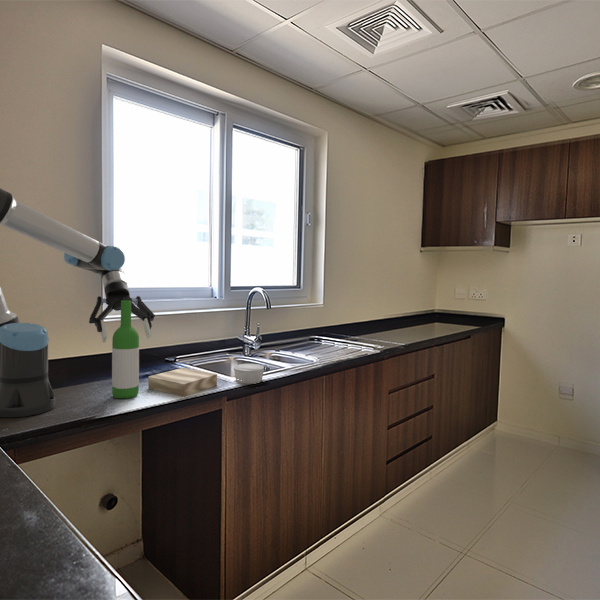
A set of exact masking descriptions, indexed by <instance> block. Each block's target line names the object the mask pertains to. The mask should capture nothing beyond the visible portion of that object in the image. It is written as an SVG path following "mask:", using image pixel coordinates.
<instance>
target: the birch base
mask: <svg viewBox="0 0 600 600" xmlns="http://www.w3.org/2000/svg"><path fill="white" fill-rule="evenodd" d="M217 386H218V374H217V373H212V372H207V371H202V370H198V369H193V368H187V367H186V368H185V367H181V368H177V369H173V370H169V371H165V372H161V373H157V374H152V375H149V376H148V389H150V390H151V389H152V390H153V391H154V390H155V391H158V392H164V393H167V394H171V395H175V396H176V395H177V396H180V397H186V396H189V395H192V394H195V393H199V392H201V391H204V390H208V389H211V388H213V387H217Z"/></svg>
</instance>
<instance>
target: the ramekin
mask: <svg viewBox="0 0 600 600" xmlns="http://www.w3.org/2000/svg"><path fill="white" fill-rule="evenodd" d="M233 371H234V377H235V380H236V382H237V383H239V384H245V385H253V384H254V385H255V384H258V383H260V382H262V380H263V375H264V371H265V366H264V365H262V364H259V363H258V364H257V363H240V364H236V365H234V366H233ZM237 379H239V380H237ZM240 380H242V381H240Z"/></svg>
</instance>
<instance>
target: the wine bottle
mask: <svg viewBox="0 0 600 600" xmlns="http://www.w3.org/2000/svg"><path fill="white" fill-rule="evenodd" d="M111 347H112V348H111V351H112V353H111V394H112V396H113V397H114V398H116V399H121V400H122V399H123V400H124V399H131V398H135V397H137V396H138V394H139V389H140V388H139V385H140V383H139V381H140V379H139V378H140V377H139V376H140V337H139V332H138V331H137V330H136V329H135V328H134V327H133V326H132V312H131V301H130V300H122V301H121V310H120V326H119V327H118V328H117V329H116V330H115V331H114V332H113V335H112V345H111Z"/></svg>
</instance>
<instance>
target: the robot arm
mask: <svg viewBox="0 0 600 600" xmlns="http://www.w3.org/2000/svg"><path fill="white" fill-rule="evenodd" d="M0 226H3V227H4V228H7V229H10V230H11V231H14V232H15V233H19V234H21V235H23V236H26V237H28V238H30V239H32V240H35V241H36V242H40V243H42V244H43V245H46V246H48V247H50V248H53V249H55V250H57V251H59V252H62V253H63V259H64V261H65V263H67V264H69V265H71V266H73V267H77V268H80V269H83V270H86V271H89V272H92V273H95V274H98V275H100V278H101V281H102V285H103V289H104V295H105V298H102V296H97V297H96V298H97V299H96V303H95V305H94V308H93V311H92V312H91V314H90V317H89V321H88V323H89V324H94V326H95V327H96V331H97V332H98V333H100V334H101V335H100V336H101V339H102V343H106V341H107V339H108V336H107V332H106V331H107V330H106V325H105V321H104V320H105V319H106V317H107V316H108V315H109V314H110V313H112V312H113V310H114V311H115V312H118V311H119V312H120V311H121V301H122V300H130V301H131V314H133V315H134V316H136V317H137V318H138V319H140V320H141V321H143V323H142V324H143V330H144V333H145V336H146V339H147V340H150V339H151V336H152V332H151V330H152V327H153V325H152V322H153V321H154V319H155V317H156V314H155V313H154V312H153V311H152V310H151V309H150V308H149V307H148V305H146V304H145V303H144V302H143V300H142V299H141V296H139V295H138V296H137V295H136V297H133V298H132V297H131V295H130V290H129V286H128V282H127V278H126V275H125V270H124V264H125V261H126V256H125V252H124V251H123V250H122V249H121V248H119V247H117V246H114V245H107V244H105V243H102V242H101V241H98V240H96V239H95V238H92V237H90V236H88V235H87V234H84V233H82V232H80V231H79V230H76V229H74V228H72V227H70V226H69V225H66V224H64V223H63V222H60V221H59V220H56V219H54V218H52V217H50V216H48V215H47V214H44V213H42V212H40V211H37V210H36V209H34V208H32V207H30V206H28V205H26V204H24V203H22V202H20V201H18V200H16V199H15V197H14V195H13V194H12V193H10V192H8V191H6V190H5V189H3V188H0ZM104 304H106V305H107V306H106V308H105V309H103V311H101V313H100V314H98V313H99V311H100V309H101V306H103V305H104ZM97 315H98V316H97ZM48 335H49V334H48V330H47V328H46V327H44V326H43V325H40V324H37V323H29V322H20V321H19V317H18V315H17V313H15V312H13V311H11V310H10V309H9V307H8V304H7V301H6V298H5V295H4V292H3V290H2V287H1V285H0V418H10V419H11V418H22V417H23V418H24V417H30V416H34V415H38V414H43V413H46V412H49V411H50V410H52V409H54V408H55V407H56V396H55V393H54V391H53V388H52V386H51V383H50V380H49V341H50V340H49V339H50V338H49V336H48Z"/></svg>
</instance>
